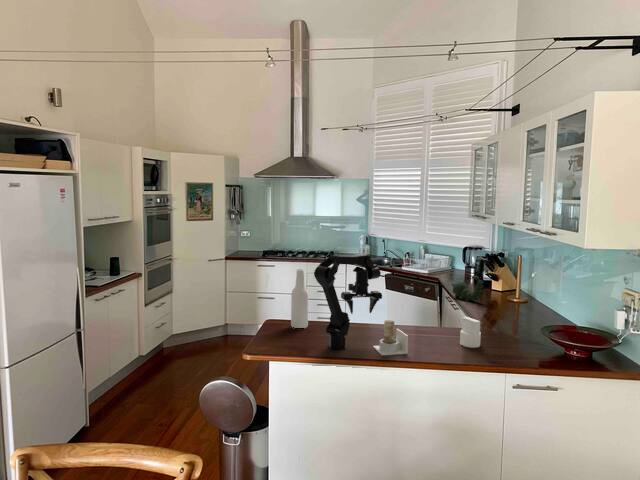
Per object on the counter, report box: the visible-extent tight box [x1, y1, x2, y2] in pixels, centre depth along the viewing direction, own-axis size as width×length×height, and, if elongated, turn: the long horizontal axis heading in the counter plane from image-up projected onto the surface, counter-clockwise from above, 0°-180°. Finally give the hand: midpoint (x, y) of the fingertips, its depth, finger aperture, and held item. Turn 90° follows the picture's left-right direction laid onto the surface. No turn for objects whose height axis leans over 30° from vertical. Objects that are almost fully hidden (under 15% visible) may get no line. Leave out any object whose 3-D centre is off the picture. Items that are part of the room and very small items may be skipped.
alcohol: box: [290, 268, 309, 329], centre depth 233 cm, size 9×9×30 cm
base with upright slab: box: [459, 316, 482, 349], centre depth 210 cm, size 9×9×12 cm
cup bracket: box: [372, 328, 409, 356], centre depth 200 cm, size 12×11×8 cm
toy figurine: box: [450, 275, 485, 302], centre depth 304 cm, size 9×19×25 cm
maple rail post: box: [383, 319, 395, 344], centre depth 200 cm, size 4×4×12 cm
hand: (361, 313), depth 212 cm, fingers open, 9 cm apart
